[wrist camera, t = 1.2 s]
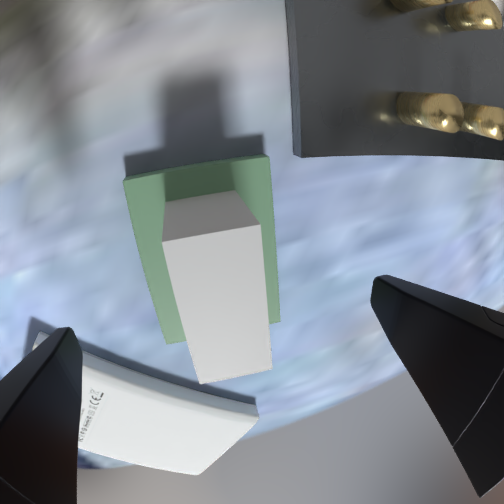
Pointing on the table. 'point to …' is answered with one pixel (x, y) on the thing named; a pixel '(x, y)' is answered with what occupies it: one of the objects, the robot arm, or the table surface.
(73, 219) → the table surface
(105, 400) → the external hard drive
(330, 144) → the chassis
